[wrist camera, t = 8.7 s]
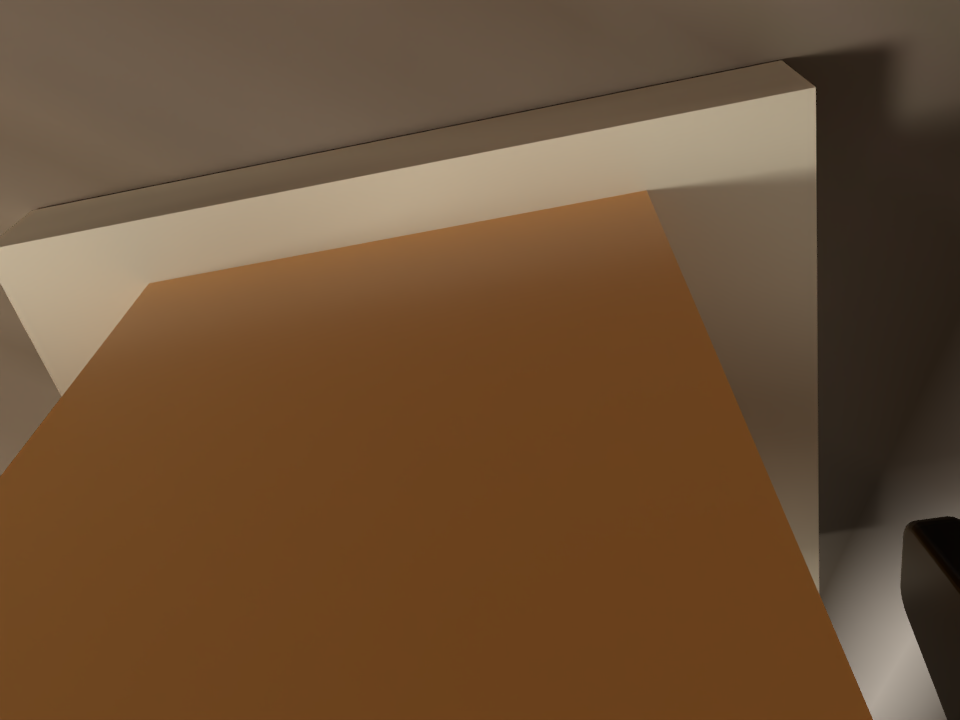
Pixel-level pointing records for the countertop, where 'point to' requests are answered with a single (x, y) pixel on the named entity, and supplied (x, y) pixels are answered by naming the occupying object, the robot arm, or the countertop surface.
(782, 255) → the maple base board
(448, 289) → the tan cardboard-colored cube
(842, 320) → the countertop surface
